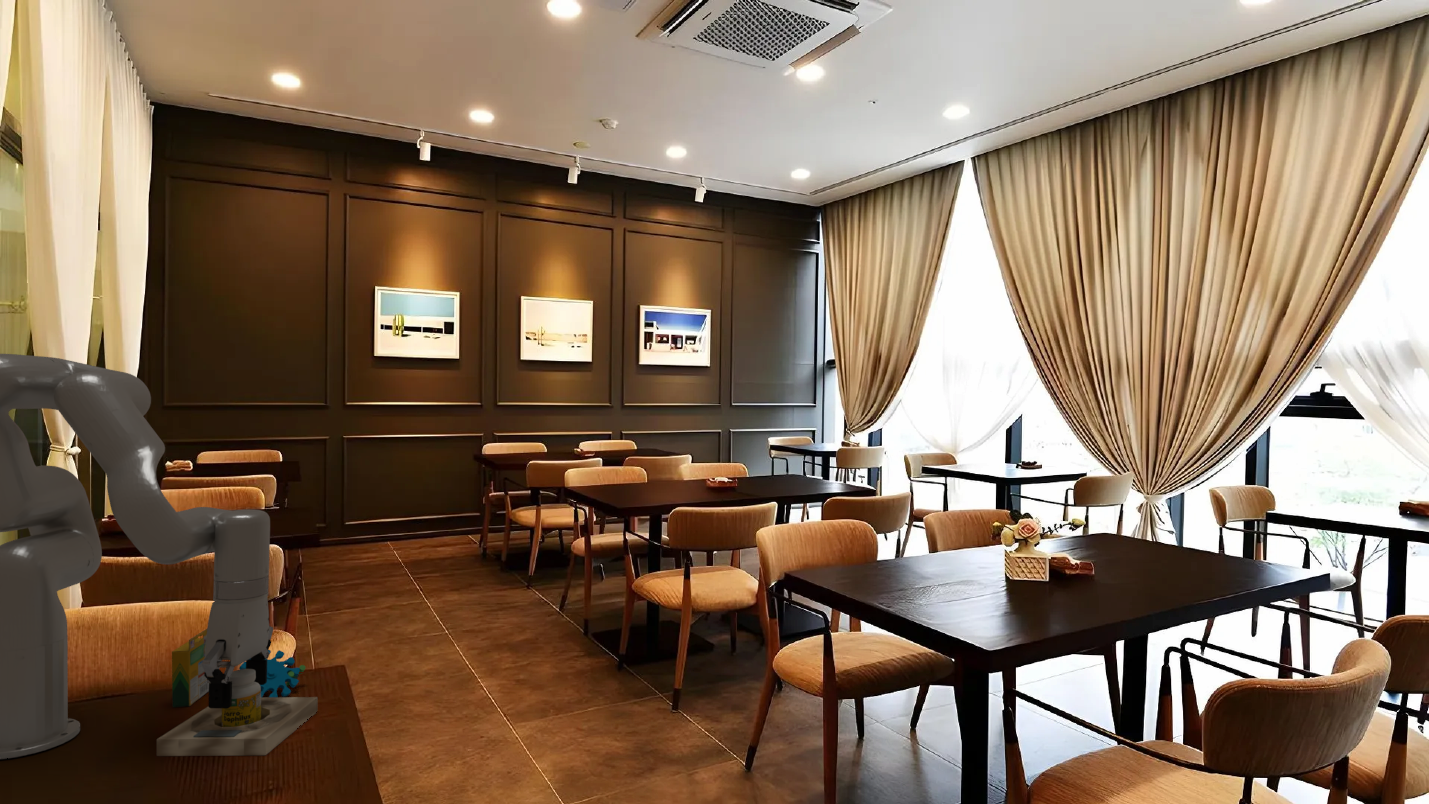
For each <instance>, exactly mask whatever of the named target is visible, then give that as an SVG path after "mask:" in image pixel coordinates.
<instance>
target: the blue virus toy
mask: <svg viewBox="0 0 1429 804" xmlns="http://www.w3.org/2000/svg"><path fill="white" fill-rule="evenodd" d="M271 651H272V650H270V649H268V652H269V656H270V654H271ZM284 656H285V652H283V651H282V650H277V652H276V654H275V655H274V657H272V658H271V659H269V658H268V659H265V660H267V682H266V683H265V684H264V685H260V687H261V697H263V696H264V694H265V693H266V692H268V691H271V692H272V693H270V694H269V696H268V697H278V692H277V691H278V688H279V689H280V688H281V689H282V690H281V691H282V692H281V693H280V694H281V697H288V696H289V695H291V692H292V690H291V689H290V688H293V689H294V688H295V687H296V686H297V685H298V683H299V682H300V680H299V679H298V678H299V677H300V675H302V674H303V673H304V672H305V670H306V669H307V668H306V666H305V664H302V665H299V667H293V668H290V667H291V666H293V665H294V664H295V658H294V657H293V656H290V657H288V658H287V659H285V660H283V661H278V660H281V659H282V658H283V657H284ZM285 665H286V666H285ZM287 666H289V667H287ZM241 669H246V661H245V662H243V663H241V664H240V665H239V668H238V670H241ZM299 672H303V673H299ZM289 685H290V686H289ZM289 687H290V688H289Z"/></svg>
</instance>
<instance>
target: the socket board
mask: <svg viewBox="0 0 1429 804" xmlns="http://www.w3.org/2000/svg"><path fill="white" fill-rule="evenodd" d="M318 704H319V703H318V696H310V697H309V696H305V697H304V696H300V697H299V696H296V697H294V696H291V697H290V696H289V697H288V696H285V697H283V696H281V697H269V696H267V697H261V720H260V721H257V722H255V723H252V724H248V725H243V726H237V727H222V708H209V706H206V707H205V708H203V709H202V710H201V711H199V712H196V713H195V714H193V716H191V717H190V718H188V719H186V720H184V721H183V722H181V723H180V724H178V725H177V726H175V727H174V728H172V729H171V730H169V731H167V732H165V733H164V734H163V735H161V736H160V737H158V738H157V739H156V757H199V756H200V757H201V756H204V757H207V756H208V757H209V756H211V757H212V756H213V757H215V756H217V757H218V756H219V757H220V756H223V757H224V756H225V757H226V756H267V755H268V754H269V753H270V752H272V751H273V749H275V748H276V747H277V746H279V744H281V743H282V742H284V740H286V739H287V738H288V737H290V735H292V734H293V733H294V732H295V731H296V730H298V729H299V728H300V727H301V726H302V725H304V724H305V723H306V722H307V721H308V720H310V719H311V718H312V717H313V716H314V715H316V714H317V713H318V712H317V711H318V707H319V706H318ZM316 712H317V713H316ZM311 716H312V717H311ZM310 717H311V718H310ZM309 718H310V719H309ZM307 719H308V720H307ZM304 722H305V723H304ZM303 723H304V724H303ZM300 725H301V726H300ZM299 726H300V727H299ZM297 728H298V729H297Z"/></svg>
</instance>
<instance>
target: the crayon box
mask: <svg viewBox="0 0 1429 804" xmlns="http://www.w3.org/2000/svg"><path fill="white" fill-rule="evenodd" d="M202 636H203V637H202ZM206 636H207V628H205V629H204V630H202V631H201V632H199V633H198V634H196V635H194V636H193V637H191V638H190V639H188V641H187V642H185V643H184V644H182V645H181V646H179V647H177V648H176V649H174V650H172V651H171V686H172V688H171V691H172V692H171V696H172V699H171V700H172V708H182V707H185V708H186V707H191V706H192V705H193V704H194V703H195V702H196V701H198V700H199V699H201V698H202V697H203V696H204V695H206V694H207V693H209V683H207V678H206V677H205V676H204V673H205V672H204V669H203V667H202V661H203V660H204V658H205V648H206Z"/></svg>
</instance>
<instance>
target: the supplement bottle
mask: <svg viewBox="0 0 1429 804" xmlns="http://www.w3.org/2000/svg"><path fill="white" fill-rule="evenodd" d="M255 678H256V671H255V670H254V669H241V670H240V669H237V670H233V672H232V675H231V677H230V679H229V681H232V706H231V707H229V708H227V709H224V708H222V727H237V726H243V725H248V724H252V723H255V722H257V721H260V720H261V687H260V685H259V683H257V682H254V681H255Z"/></svg>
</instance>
